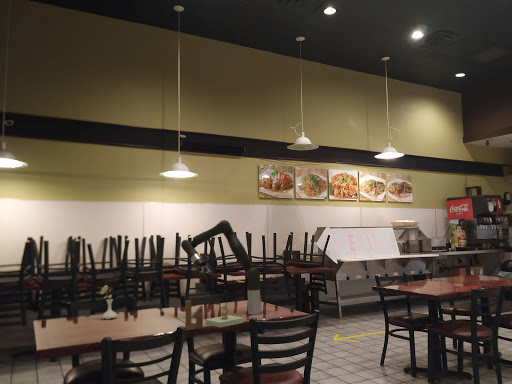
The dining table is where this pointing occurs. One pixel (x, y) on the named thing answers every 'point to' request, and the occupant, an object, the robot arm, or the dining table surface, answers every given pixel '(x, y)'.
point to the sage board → (224, 321)
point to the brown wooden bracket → (197, 315)
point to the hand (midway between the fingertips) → (209, 277)
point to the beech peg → (224, 310)
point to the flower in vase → (109, 312)
